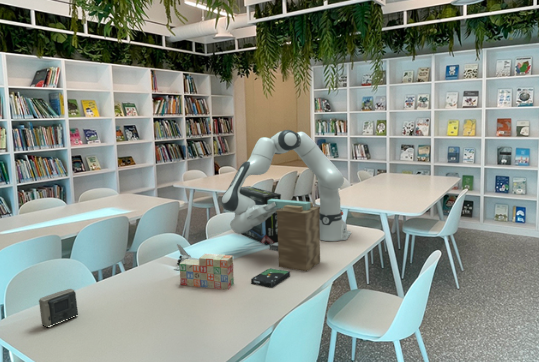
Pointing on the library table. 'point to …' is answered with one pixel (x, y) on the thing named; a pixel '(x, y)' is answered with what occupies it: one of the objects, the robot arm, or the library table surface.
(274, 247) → the graphics card
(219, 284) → the stack of blocks
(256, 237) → the router box
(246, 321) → the library table surface
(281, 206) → the batten
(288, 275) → the disk drive
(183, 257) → the space shuttle model
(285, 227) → the brown tall textured block
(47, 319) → the camera
